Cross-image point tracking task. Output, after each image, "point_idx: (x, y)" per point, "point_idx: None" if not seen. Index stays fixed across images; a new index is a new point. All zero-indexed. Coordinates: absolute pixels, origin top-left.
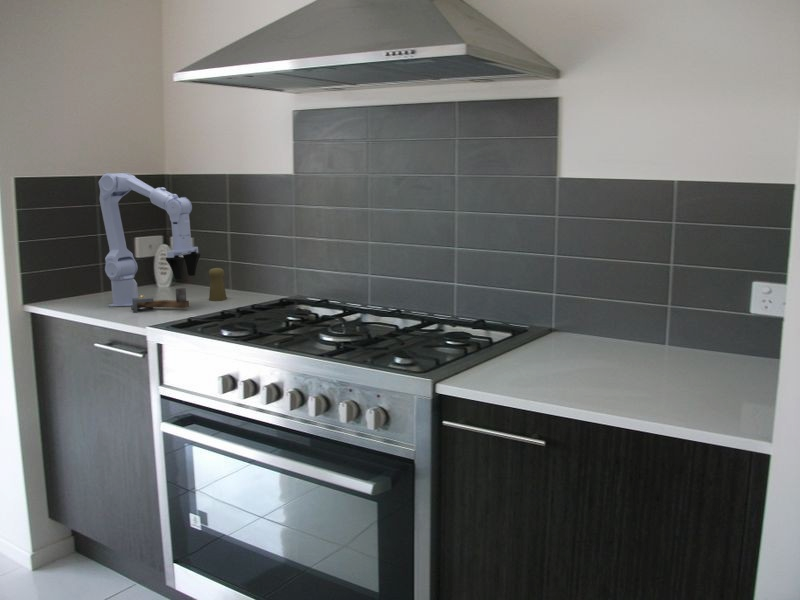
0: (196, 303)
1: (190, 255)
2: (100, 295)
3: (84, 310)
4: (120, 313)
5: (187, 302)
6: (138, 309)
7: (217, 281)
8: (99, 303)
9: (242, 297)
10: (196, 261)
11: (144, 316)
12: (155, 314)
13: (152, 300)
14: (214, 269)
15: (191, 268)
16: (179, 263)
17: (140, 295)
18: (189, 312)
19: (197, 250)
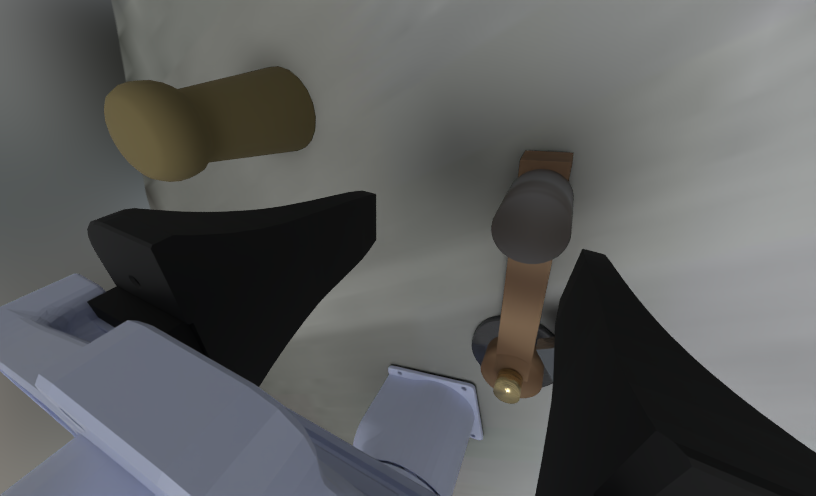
0: (378, 173)
1: (215, 332)
2: (340, 438)
3: None
4: None
5: (541, 158)
6: None
7: (218, 106)
8: None
9: (208, 8)
10: (253, 220)
11: (762, 319)
12: (695, 278)
13: None
14: (147, 138)
15: (335, 241)
16: (766, 420)
17: (504, 397)
18: (656, 93)
19: (46, 295)
